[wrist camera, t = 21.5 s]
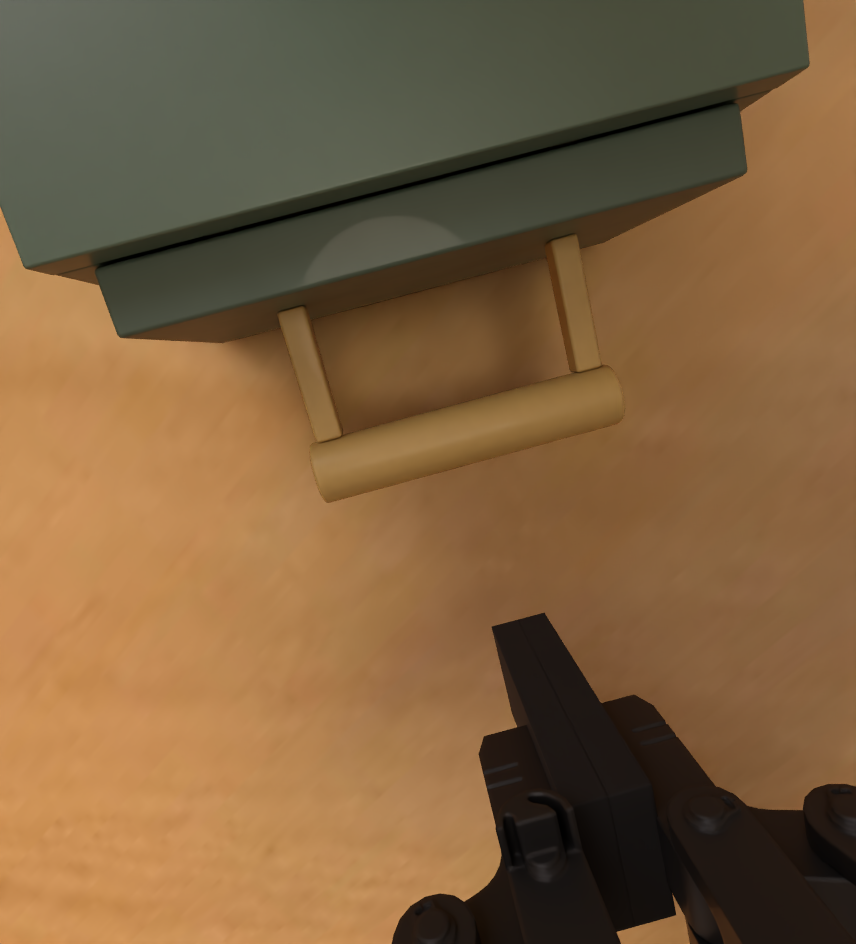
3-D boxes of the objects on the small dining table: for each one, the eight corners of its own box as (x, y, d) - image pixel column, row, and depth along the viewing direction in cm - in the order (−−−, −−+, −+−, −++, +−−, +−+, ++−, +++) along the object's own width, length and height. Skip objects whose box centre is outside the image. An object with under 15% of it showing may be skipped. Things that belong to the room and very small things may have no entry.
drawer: (631, 387, 18) (779, 408, 11) (267, 486, 18) (201, 568, 11) (489, -390, 14) (592, -1066, 7) (14, -280, 14) (-333, -882, 7)
